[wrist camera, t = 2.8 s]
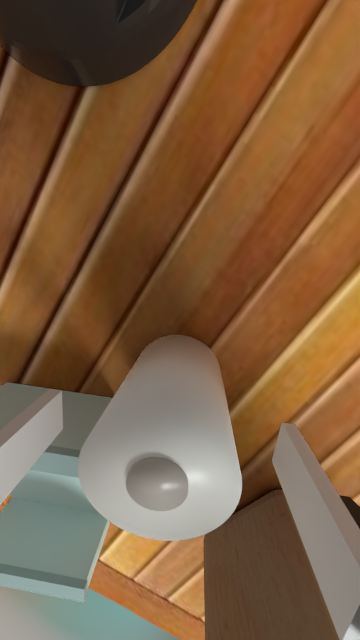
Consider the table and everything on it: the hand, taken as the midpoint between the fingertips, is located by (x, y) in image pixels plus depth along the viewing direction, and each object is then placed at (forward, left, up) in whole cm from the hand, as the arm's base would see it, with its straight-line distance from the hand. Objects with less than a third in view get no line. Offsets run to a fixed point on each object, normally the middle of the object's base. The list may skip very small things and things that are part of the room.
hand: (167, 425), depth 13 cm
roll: (0, 0, -5) cm, 5 cm away
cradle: (+10, -10, -5) cm, 15 cm away
